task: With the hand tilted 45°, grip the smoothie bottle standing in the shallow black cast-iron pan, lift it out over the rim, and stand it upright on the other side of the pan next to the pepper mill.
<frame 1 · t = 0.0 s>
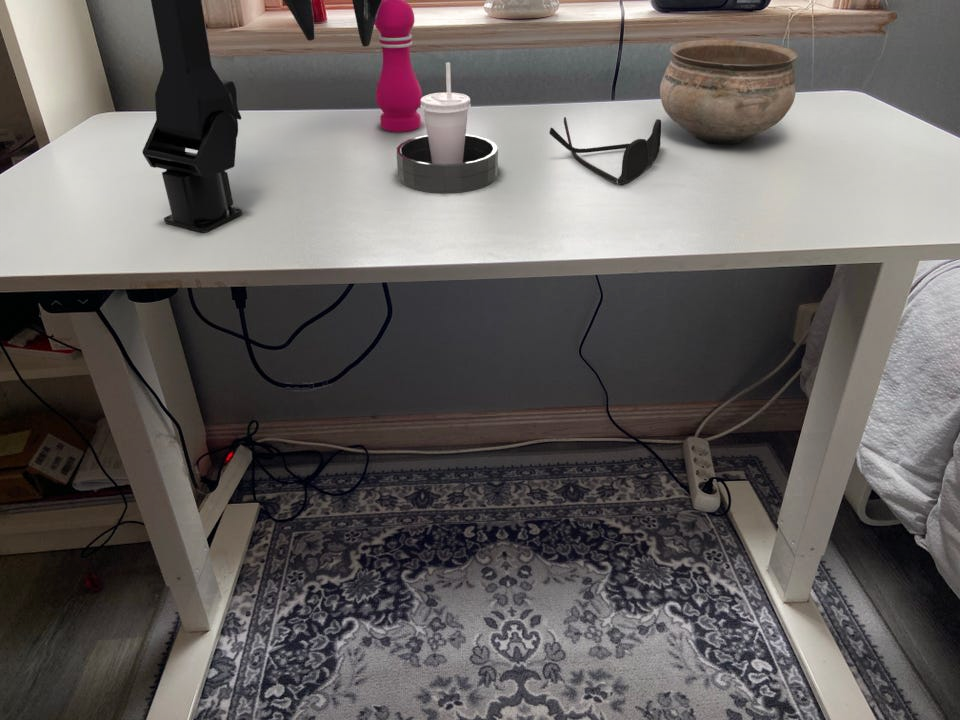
hand: (338, 43, 101), 15 cm above the table, tool pointing down, fingers open, 9 cm apart
cooking pot: (718, 138, 113), on the table
pan: (447, 175, 100), on the table
sunglasses: (600, 161, 105), on the table
smoothie: (447, 174, 100), resting on pan
pepper mill: (401, 127, 119), on the table
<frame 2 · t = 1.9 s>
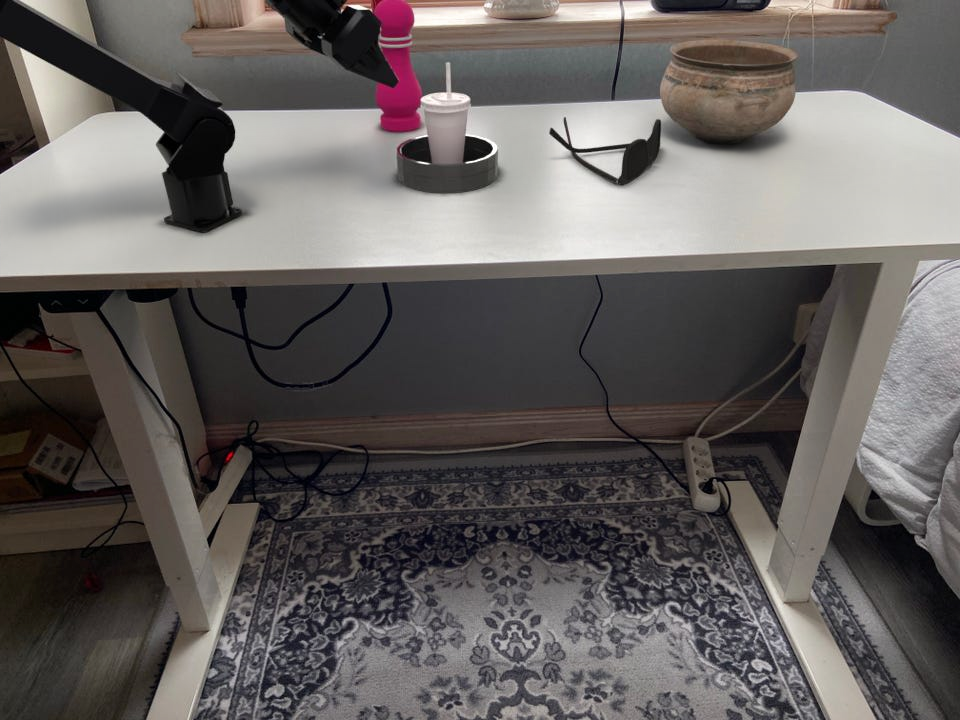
hand: (381, 76, 90), 13 cm above the table, tool tilted 45°, fingers open, 9 cm apart
nothing on the table moved.
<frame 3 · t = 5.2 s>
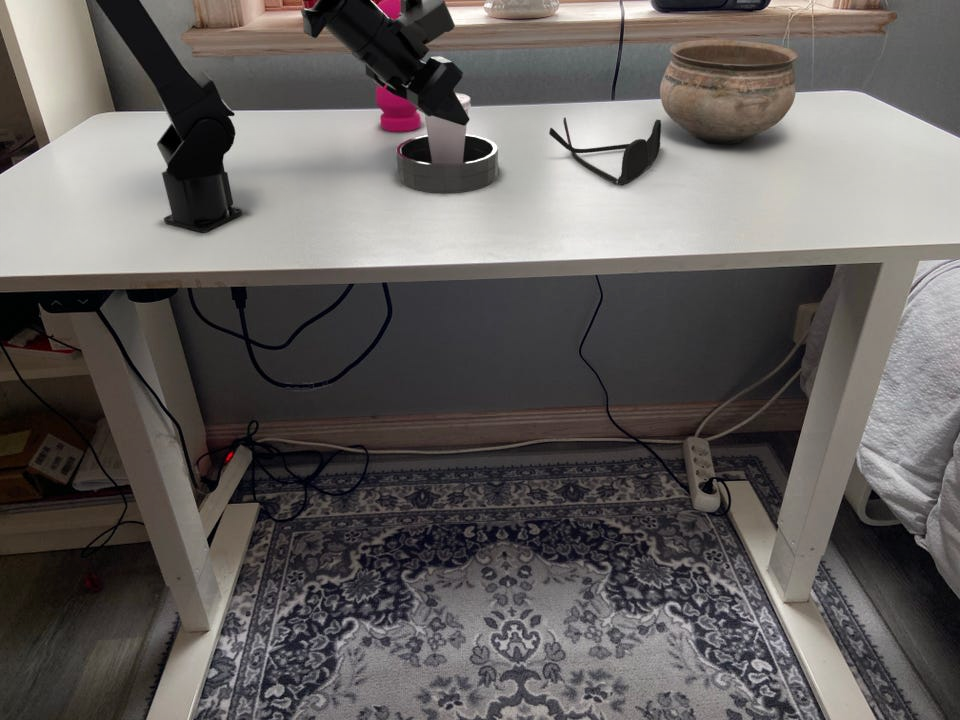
hand: (455, 116, 97), 8 cm above the table, tool tilted 45°, fingers closed on smoothie, 6 cm apart
smoothie: (447, 174, 100), resting on pan, touching gripper
everything else where it was.
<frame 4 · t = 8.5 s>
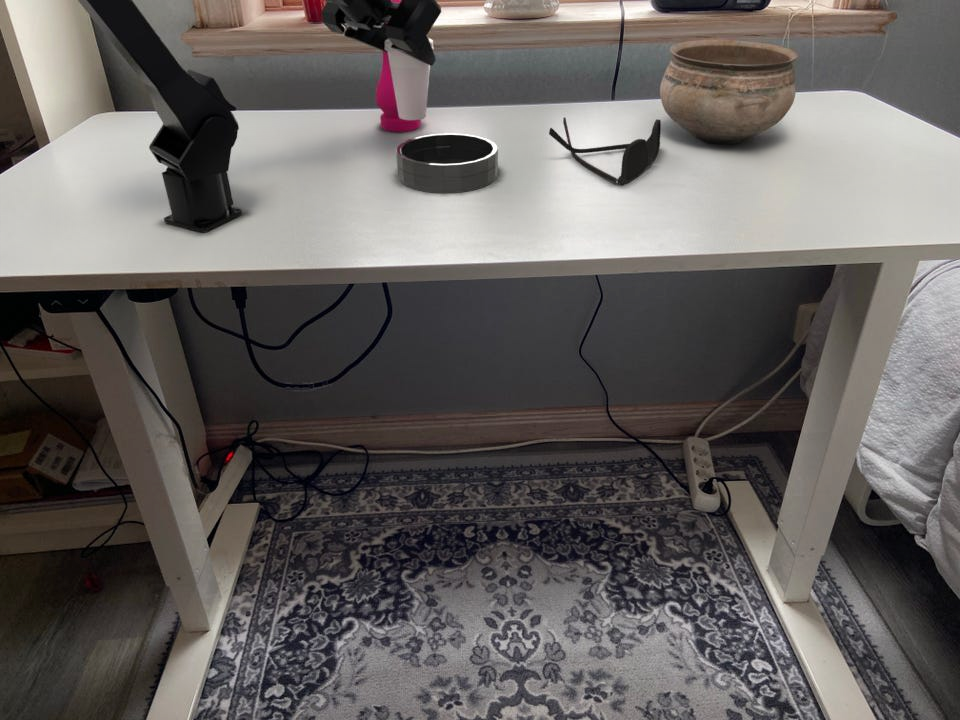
hand: (418, 58, 99), 13 cm above the table, tool tilted 45°, fingers closed on smoothie, 6 cm apart
smoothie: (412, 117, 102), point 6 cm above the table, touching gripper
everything else where it was.
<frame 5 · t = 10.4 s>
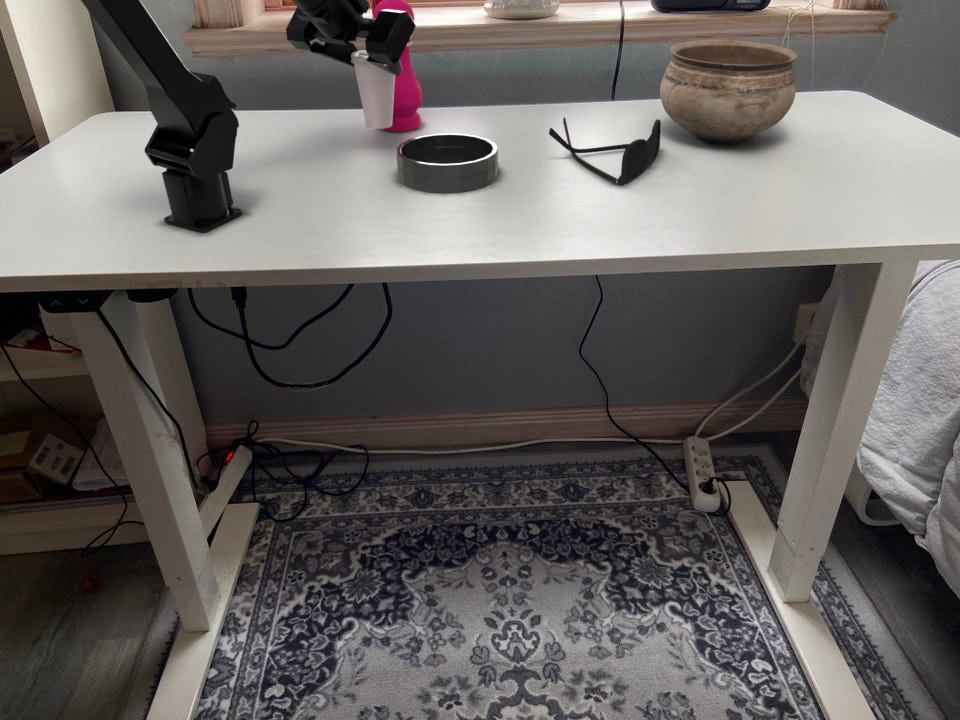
hand: (382, 70, 104), 11 cm above the table, tool tilted 45°, fingers closed on smoothie, 6 cm apart
smoothie: (379, 126, 107), point 3 cm above the table, touching gripper
everything else where it was.
when the fingers open (7 cm above the table, at t = 12.0 s): smoothie stays where it is, on the table.
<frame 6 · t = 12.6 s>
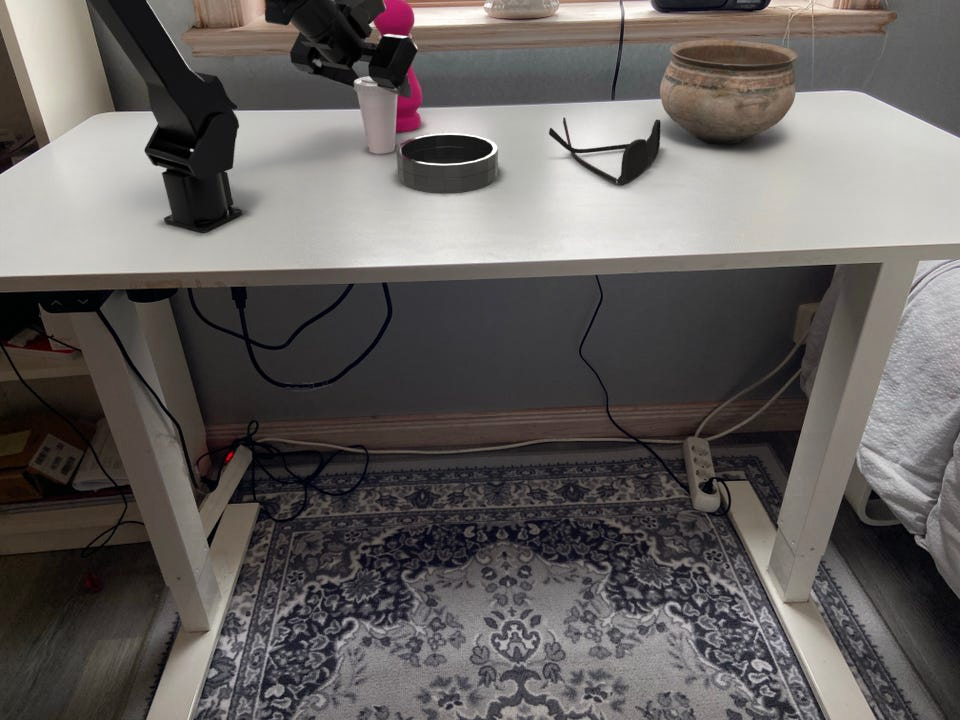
hand: (384, 90, 106), 8 cm above the table, tool tilted 45°, fingers open, 9 cm apart
smoothie: (382, 151, 109), on the table
everything else where it was.
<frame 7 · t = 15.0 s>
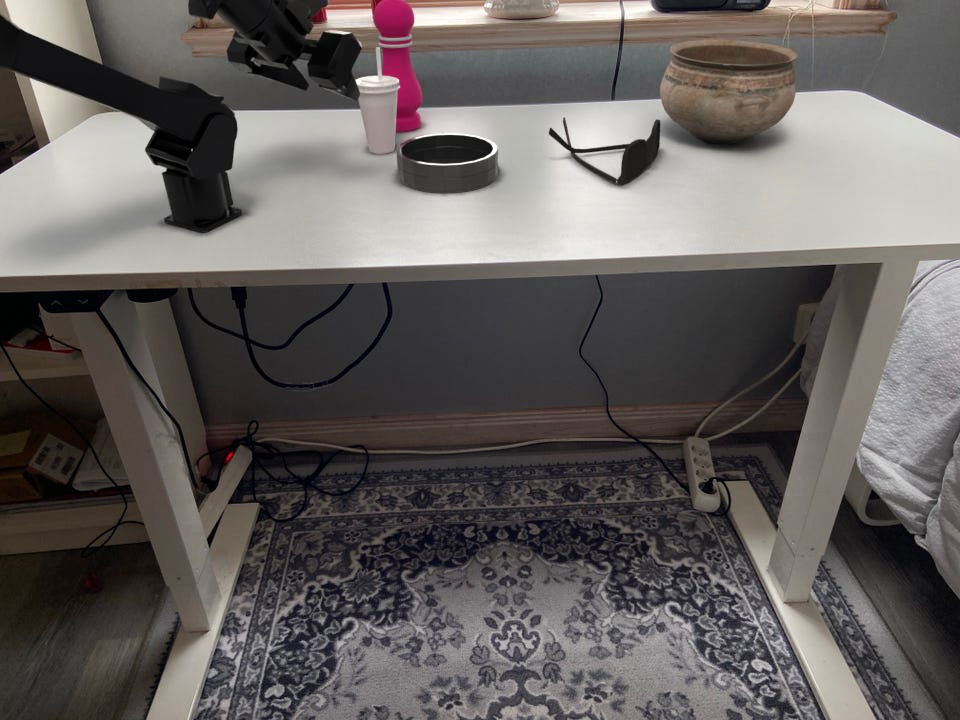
hand: (332, 92, 98), 10 cm above the table, tool tilted 45°, fingers open, 9 cm apart
nothing on the table moved.
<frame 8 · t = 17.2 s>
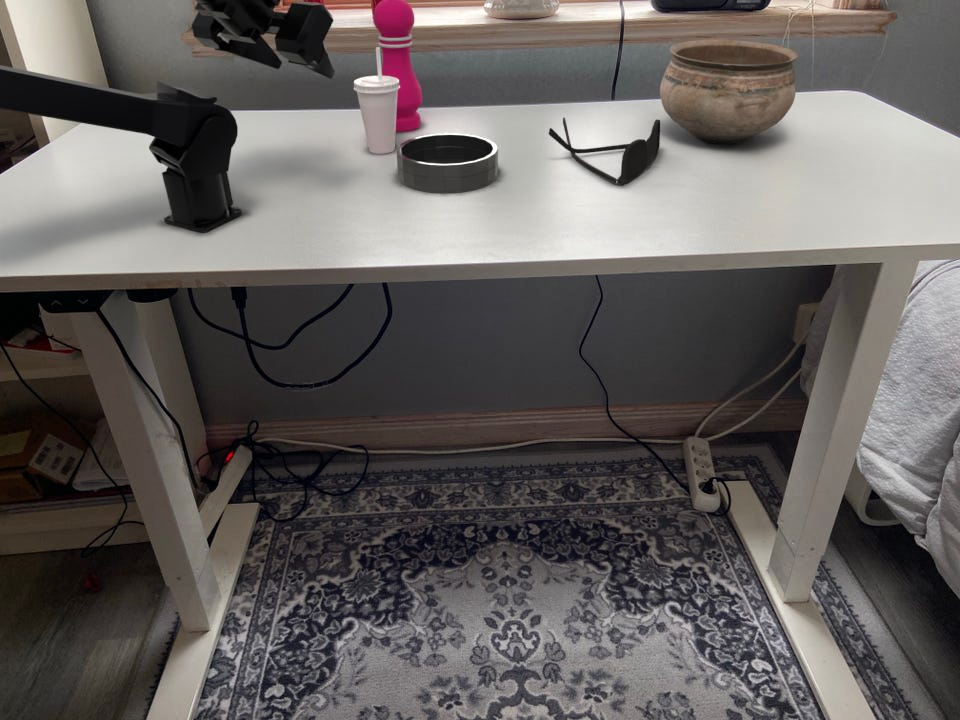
hand: (305, 70, 92), 14 cm above the table, tool tilted 45°, fingers open, 9 cm apart
nothing on the table moved.
at the end: smoothie inside the target area (0.1 cm from its centre), on the table; smoothie tilted 0°; smoothie 11.8 cm from the pepper mill (horizontally) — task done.
